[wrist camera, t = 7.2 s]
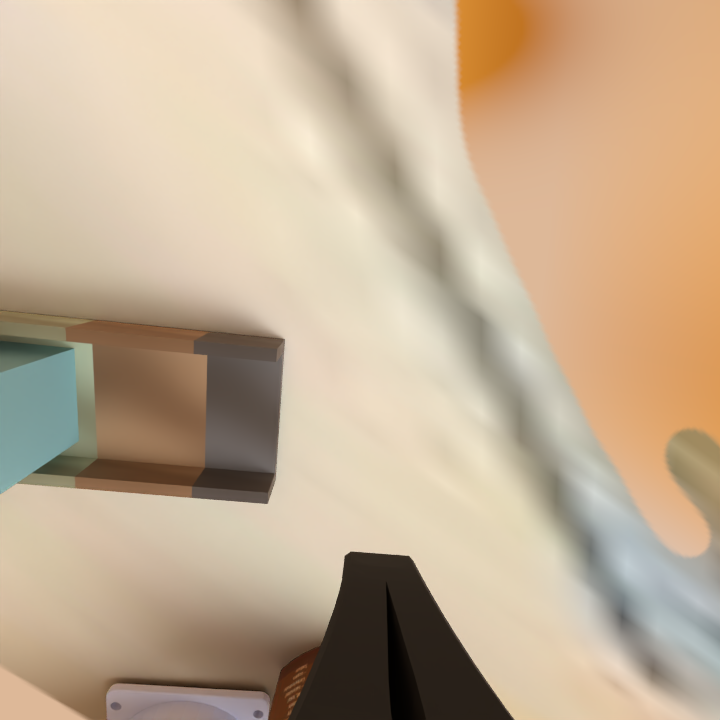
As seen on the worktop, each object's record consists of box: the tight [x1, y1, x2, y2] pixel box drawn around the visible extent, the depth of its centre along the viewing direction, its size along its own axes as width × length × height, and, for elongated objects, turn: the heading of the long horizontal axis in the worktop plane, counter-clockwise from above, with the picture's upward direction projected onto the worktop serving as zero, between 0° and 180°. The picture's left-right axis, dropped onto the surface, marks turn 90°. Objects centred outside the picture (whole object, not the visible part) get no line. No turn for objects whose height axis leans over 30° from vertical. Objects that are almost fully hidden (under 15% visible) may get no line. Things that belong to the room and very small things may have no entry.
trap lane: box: [0, 311, 285, 504], centre depth 16 cm, size 6×16×2 cm, turn 84°
